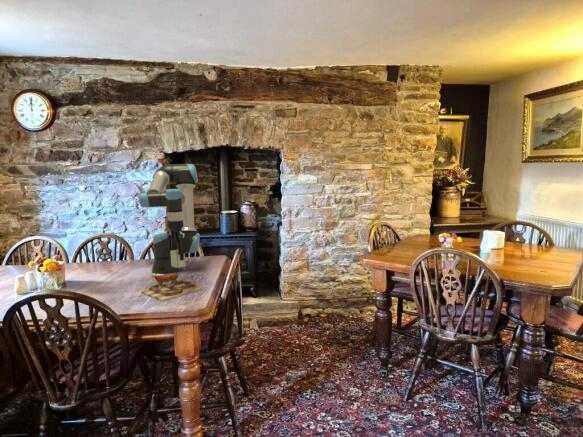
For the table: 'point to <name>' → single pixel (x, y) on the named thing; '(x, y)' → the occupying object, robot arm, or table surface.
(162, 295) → the beech board
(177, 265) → the sage-green tail block
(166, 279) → the bull figurine
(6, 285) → the table surface
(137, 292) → the table surface
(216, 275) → the table surface
